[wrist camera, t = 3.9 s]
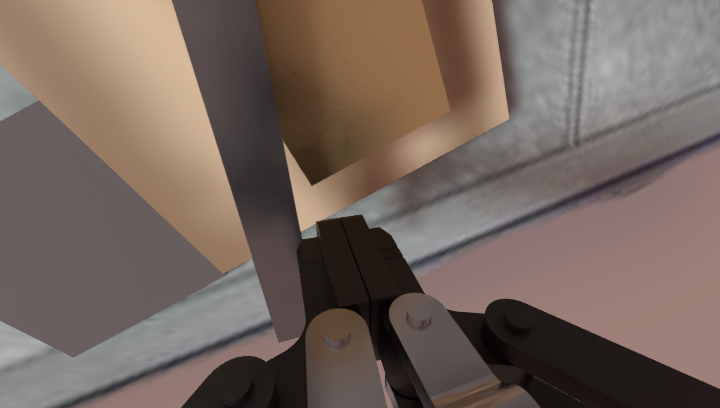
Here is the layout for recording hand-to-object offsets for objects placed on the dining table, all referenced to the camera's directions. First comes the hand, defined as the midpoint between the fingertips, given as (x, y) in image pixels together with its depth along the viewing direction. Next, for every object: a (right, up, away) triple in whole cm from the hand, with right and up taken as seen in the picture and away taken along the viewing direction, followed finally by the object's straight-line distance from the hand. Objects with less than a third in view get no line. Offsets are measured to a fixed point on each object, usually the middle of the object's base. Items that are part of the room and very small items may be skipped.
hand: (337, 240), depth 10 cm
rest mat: (-14, -1, +5) cm, 15 cm away
